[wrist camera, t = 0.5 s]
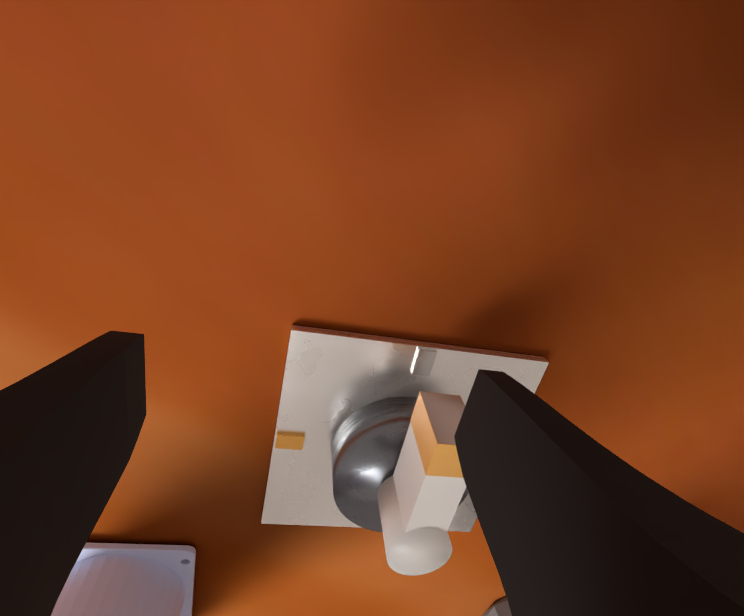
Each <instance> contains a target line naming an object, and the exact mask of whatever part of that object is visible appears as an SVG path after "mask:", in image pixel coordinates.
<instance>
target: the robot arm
mask: <svg viewBox="0 0 744 616" xmlns="http://www.w3.org/2000/svg"><path fill="white" fill-rule="evenodd" d="M145 416H146V389H145V353H144V334H137V333H127V332H118V331H109V332H107V333H105V334H103V335H101V336H99V337H98V338H96V339H94V340H92V341H90V342H88V343H87V344H85V345H83V346H81V347H79V348H78V349H76V350H74V351H72V352H71V353H69V354H67V355H65V356H63V357H62V358H60V359H58V360H56V361H55V362H53V363H51V364H49V365H47V366H45V367H44V368H42V369H40V370H38V371H36V372H34V373H33V374H31V375H29V376H27V377H25V378H24V379H22V380H20V381H18V382H16V383H14V384H12V385H10V386H8V387H6V388H4V389H2V390H0V616H192V605H193V590H194V574H195V559H196V549H195V548H194V547H192V546H189V545H158V544H123V543H88V542H87V540H88V538H89V536H90V534H91V533H92V531H93V529H94V527H95V525H96V523H97V521H98V519H99V517H100V516H101V514H102V512H103V510H104V508H105V506H106V504H107V502H108V500H109V498H110V497H111V495H112V493H113V491H114V489H115V487H116V485H117V483H118V481H119V479H120V477H121V475H122V473H123V472H124V470H125V468H126V466H127V464H128V462H129V460H130V457H131V455H132V452H133V449H134V447H135V444H136V441H137V439H138V436H139V433H140V430H141V428H142V425H143V422H144V419H145ZM454 439H455V444H456V449H457V453H458V458H459V462H460V467H461V471H462V475H463V478H464V481H465V484H466V487H467V490H468V492H469V495H470V498H471V501H472V503H473V506H474V509H475V512H476V514H477V517H478V519H479V522H480V525H481V527H482V530H483V533H484V535H485V538H486V541H487V543H488V546H489V549H490V551H491V554H492V557H493V559H494V562H495V565H496V567H497V570H498V573H499V575H500V578H501V581H502V584H503V587H504V590H505V593H506V596H507V600H508V603H509V607H510V611H511V614H512V616H744V533H742V532H740V531H738V530H736V529H734V528H733V527H731V526H729V525H727V524H725V523H724V522H722V521H720V520H718V519H716V518H714V517H713V516H711V515H709V514H707V513H706V512H704V511H702V510H700V509H699V508H697V507H695V506H694V505H692V504H690V503H688V502H687V501H685V500H684V499H682V498H680V497H679V496H677V495H676V494H674V493H672V492H671V491H669V490H668V489H666V488H664V487H663V486H661V485H660V484H658V483H656V482H655V481H653V480H651V479H650V478H648V477H647V476H645V475H644V474H642V473H641V472H639V471H638V470H636V469H635V468H633V467H632V466H630V465H629V464H628V463H626V462H625V461H623V460H622V459H620V458H619V457H618V456H616V455H615V454H613V453H612V452H611V451H609V450H608V449H606V448H605V447H603V446H602V445H601V444H599V443H598V442H597V441H595V440H594V439H593V438H591V437H590V436H589V435H587V434H586V433H585V432H583V431H582V430H581V429H579V428H578V427H577V426H575V425H574V424H573V423H571V422H570V421H569V420H567V419H566V418H565V417H564V416H562V415H561V414H560V413H558V412H557V411H556V410H555V409H553V408H552V407H551V406H549V405H548V404H547V403H546V402H544V401H543V400H542V399H540V398H539V397H538V396H537V395H535V394H534V393H533V392H531V391H530V390H529V389H527V388H526V387H525V386H523V385H522V384H521V383H519V382H518V381H517V380H515V379H514V378H512V377H511V376H509V375H508V374H506V373H504V372H501V371H492V370H482V369H479V370H478V373H477V375H476V378H475V381H474V383H473V386H472V389H471V392H470V394H469V397H468V400H467V403H466V405H465V408H464V411H463V413H462V416H461V419H460V422H459V424H458V427H457V430H456V433H455V435H454Z"/></svg>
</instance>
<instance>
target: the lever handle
mask: <svg viewBox="0 0 744 616" xmlns="http://www.w3.org/2000/svg"><path fill="white" fill-rule="evenodd" d="M464 408H465V405H464V403H463V400H462V398H461V396H460V395H450V394H441V393H431V392H422V391H420V392H419V395H418V398H417V401H416V404H415V407H414V410H413V414H412V417H411V420H410V421H411V422H410V425H409V428H408V431H407V434H406V437H405V440H404V443H403V446H402V449H401V452H400V456H399V459H398V462H397V465H396V468H395V471H394V474H393V476H391V477H389V478H387V479H386V480H385V481H384V482H383V483H382V484H381V485H380V487H379V489H378V492H377V498H378V505H379V511H380V518H381V524H382V531H383V538H384V544H385V551H386V557H387V563H388V565H389V567H390V568H391V569H392V570H394V571H395V572H397V573H400V574H403V575H422V574H426V573H429V572H432V571H434V570H436V569H438V568H440V567H441V566H443V565H444V564H445V563H446V562H447V561H448V560H449V558H450V556H451V554H452V545H451V542H450V538H449V535H448V528H449V526H450V524H451V521H452V519H453V517H454V514H455V512H456V510H457V507H458V505H459V503H460V500H461V498H462V496H463V493H464V491H465V489H466V484H465V481H464V478H463V475H462V471H461V467H460V462H459V458H458V453H457V449H456V444H455V439H454V435H455V433H456V430H457V427H458V424H459V422H460V419H461V416H462V413H463V411H464Z"/></svg>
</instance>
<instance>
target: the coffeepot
mask: <svg viewBox="0 0 744 616" xmlns="http://www.w3.org/2000/svg"><path fill="white" fill-rule="evenodd" d="M483 616H512V614H511V611H510V607H509V603H508V600H507V596H506V597H504V598H503V599H501V600H499V601H498V602H496V603H495V604H494V605H492V606H491V607H490V608H489V609H488V610H487V611H486V612H485V613H484V614H483Z"/></svg>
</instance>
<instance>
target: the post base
mask: <svg viewBox="0 0 744 616" xmlns="http://www.w3.org/2000/svg"><path fill="white" fill-rule="evenodd" d="M548 363H549V362H548V361H547V360H546V358H545V357H540V356H533V355H525V354H517V353H509V352H501V351H494V350H486V349H478V348H470V347H462V346H455V345H447V344H439V343H431V342H423V341H416V340H408V339H400V338H392V337H384V336H377V335H369V334H361V333H353V332H345V331H338V330H330V329H322V328H314V327H306V326H299V325H292V326H291V332H290V339H289V345H288V352H287V358H286V365H285V371H284V377H283V384H282V390H281V397H280V403H279V409H278V416H277V422H276V429H275V435H274V442H273V448H272V454H271V461H270V467H269V474H268V480H267V486H266V493H265V499H264V506H263V512H262V519H261V524H285V525H310V526H336V527H362V528H366V529H369V530H373V531H378V532H383V531H382V524H381V518H380V511H379V505H378V498H377V492H378V489H379V487H380V485H381V484H382V483H383V482H384V481H385V480H386V479H387V478H389V477H391V476H393V474H394V471H395V468H396V465H397V462H398V459H399V456H400V452H401V449H402V446H403V443H404V440H405V437H406V434H407V431H408V428H409V425H410V422H411V421H410V420H411V417H412V414H413V410H414V407H415V404H416V401H417V398H418V395H419V392H420V391H422V392H431V393H441V394H450V395H460V396H461V398H462V400H463V403H464V405H466V403H467V400H468V397H469V394H470V392H471V389H472V386H473V383H474V381H475V378H476V375H477V373H478V370H479V369H482V370H492V371H501V372H504V373H506V374H508V375H509V376H511V377H512V378H514V379H515V380H517V381H518V382H519V383H521V384H522V385H523V386H525V387H526V388H527V389H529V390H530V391H531V392H533V393H534V394H535V391H536V389H537V387H538V385H539V383H540V381H541V379H542V376H543V374H544V372H545V370H546V368H547V366H548ZM476 518H477V514H476V512H475V509H474V506H473V503H472V501H471V498H470V495H469V492H468V490H467V487H466V489H465V491H464V493H463V496H462V498H461V500H460V503H459V505H458V507H457V510H456V512H455V514H454V517H453V519H452V521H451V524H450V526H449V528H448V531H464V532H470V531H471V529H472V527H473V525H474V523H475V521H476Z"/></svg>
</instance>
